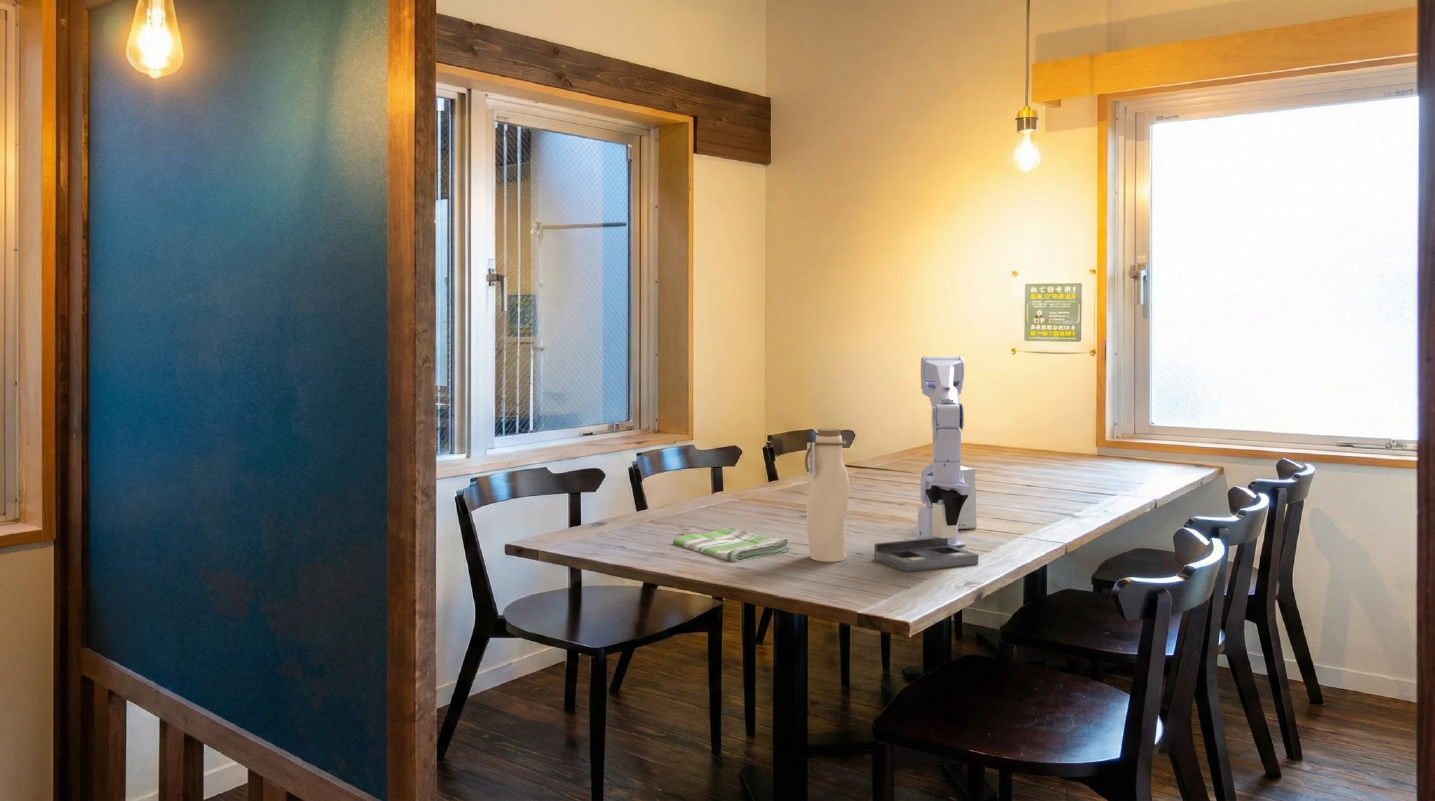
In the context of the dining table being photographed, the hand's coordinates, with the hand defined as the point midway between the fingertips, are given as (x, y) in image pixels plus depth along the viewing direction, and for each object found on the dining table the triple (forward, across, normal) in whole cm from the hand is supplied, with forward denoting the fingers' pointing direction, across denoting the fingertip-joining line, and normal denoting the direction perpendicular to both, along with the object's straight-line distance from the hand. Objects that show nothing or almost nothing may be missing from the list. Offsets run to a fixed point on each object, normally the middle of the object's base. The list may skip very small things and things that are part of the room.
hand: (946, 523), depth 213 cm
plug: (+3, 0, 0) cm, 3 cm away
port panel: (+8, 0, -5) cm, 9 cm away
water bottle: (+8, -11, -23) cm, 27 cm away
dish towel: (+9, -29, -38) cm, 48 cm away
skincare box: (+8, -29, +24) cm, 38 cm away
